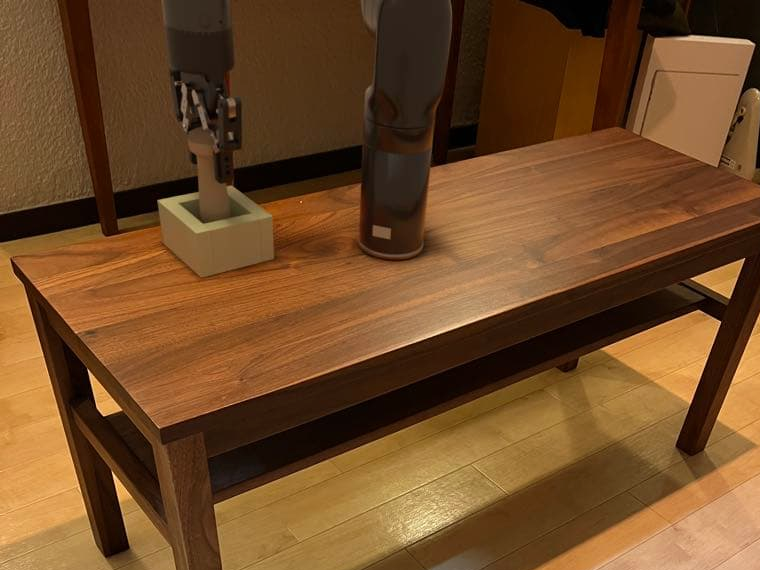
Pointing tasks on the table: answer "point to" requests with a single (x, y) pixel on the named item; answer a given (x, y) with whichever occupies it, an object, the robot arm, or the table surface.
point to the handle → (208, 179)
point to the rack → (217, 233)
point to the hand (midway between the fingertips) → (211, 171)
